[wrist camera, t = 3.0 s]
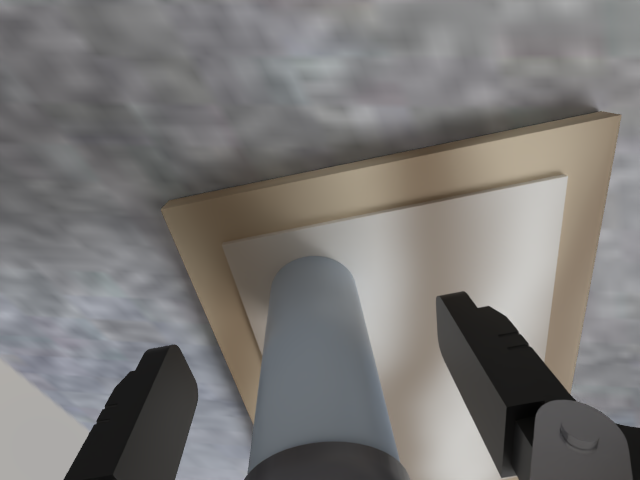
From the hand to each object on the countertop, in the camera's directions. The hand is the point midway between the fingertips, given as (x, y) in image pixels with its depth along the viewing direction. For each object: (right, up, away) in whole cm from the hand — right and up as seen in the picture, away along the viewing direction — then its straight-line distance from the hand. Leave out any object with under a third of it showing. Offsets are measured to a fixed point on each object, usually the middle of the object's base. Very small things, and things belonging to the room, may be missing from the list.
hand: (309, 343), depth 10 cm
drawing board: (+4, -3, +5) cm, 7 cm away
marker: (0, +1, +2) cm, 3 cm away
